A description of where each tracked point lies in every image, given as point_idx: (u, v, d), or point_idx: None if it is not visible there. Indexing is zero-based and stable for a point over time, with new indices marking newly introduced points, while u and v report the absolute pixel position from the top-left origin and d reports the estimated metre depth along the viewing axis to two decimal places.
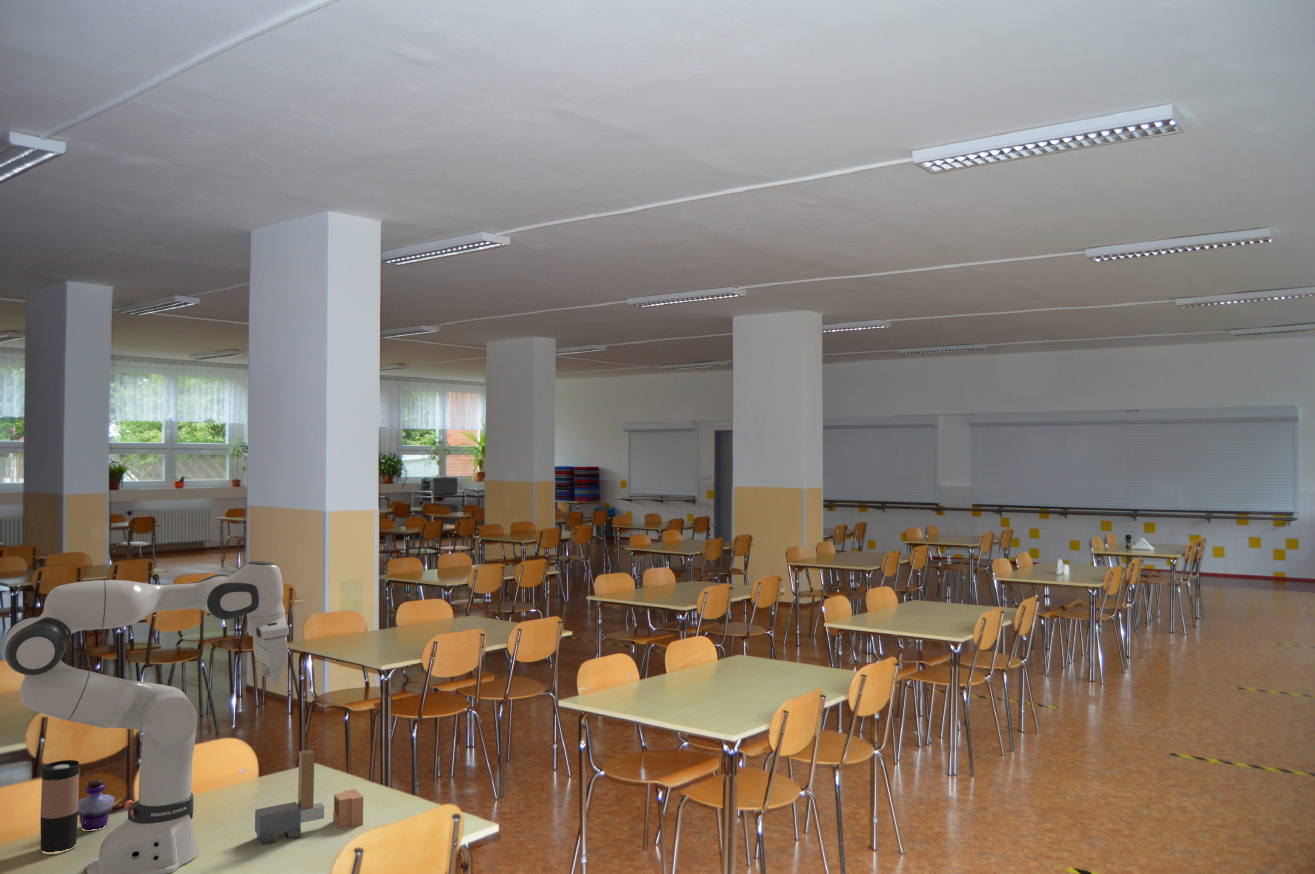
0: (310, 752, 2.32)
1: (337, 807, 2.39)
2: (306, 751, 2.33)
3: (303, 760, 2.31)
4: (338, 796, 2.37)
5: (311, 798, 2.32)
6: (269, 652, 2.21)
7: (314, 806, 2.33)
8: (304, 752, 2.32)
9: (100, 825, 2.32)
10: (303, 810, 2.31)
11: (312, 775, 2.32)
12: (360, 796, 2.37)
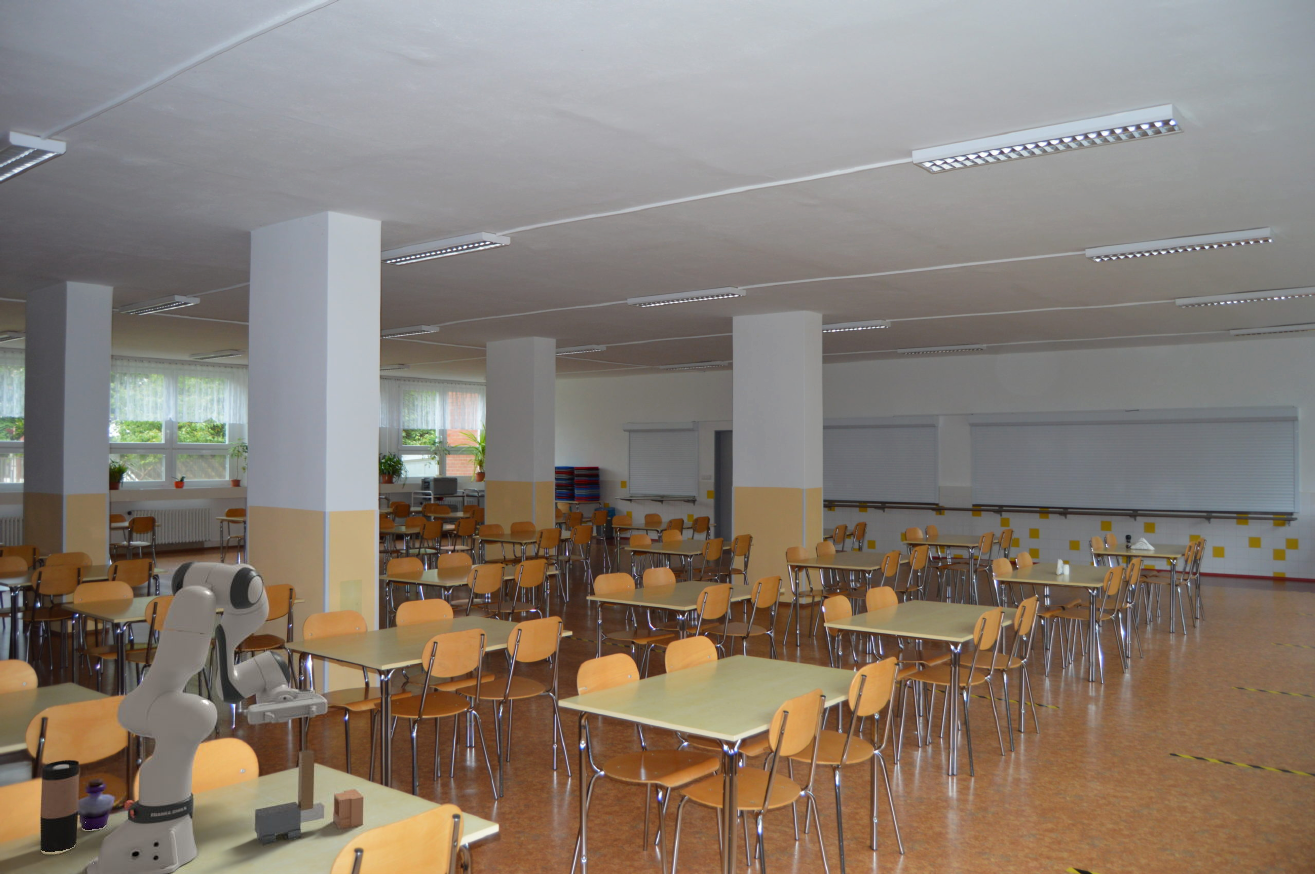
0: (310, 752, 2.32)
1: (337, 807, 2.39)
2: (306, 751, 2.33)
3: (303, 760, 2.31)
4: (338, 796, 2.37)
5: (311, 798, 2.32)
6: None
7: (314, 806, 2.33)
8: (304, 752, 2.32)
9: (100, 825, 2.32)
10: (303, 810, 2.31)
11: (312, 775, 2.32)
12: (360, 796, 2.37)
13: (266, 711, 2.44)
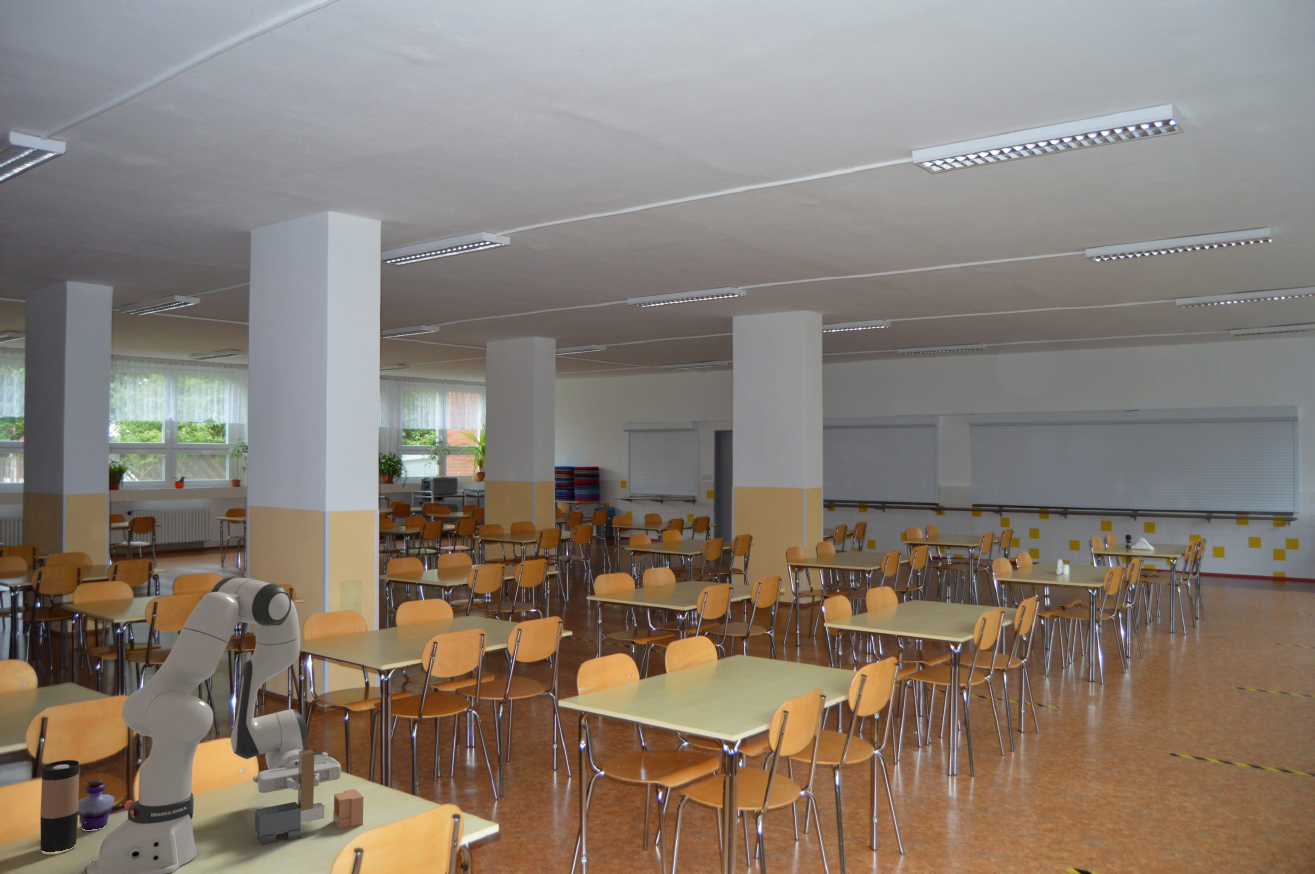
0: (310, 752, 2.32)
1: (337, 807, 2.39)
2: (306, 751, 2.33)
3: (303, 760, 2.31)
4: (338, 796, 2.37)
5: (311, 798, 2.32)
6: None
7: (314, 806, 2.33)
8: (304, 752, 2.32)
9: (100, 825, 2.32)
10: (303, 810, 2.31)
11: (312, 775, 2.32)
12: (360, 796, 2.37)
13: (277, 778, 2.32)
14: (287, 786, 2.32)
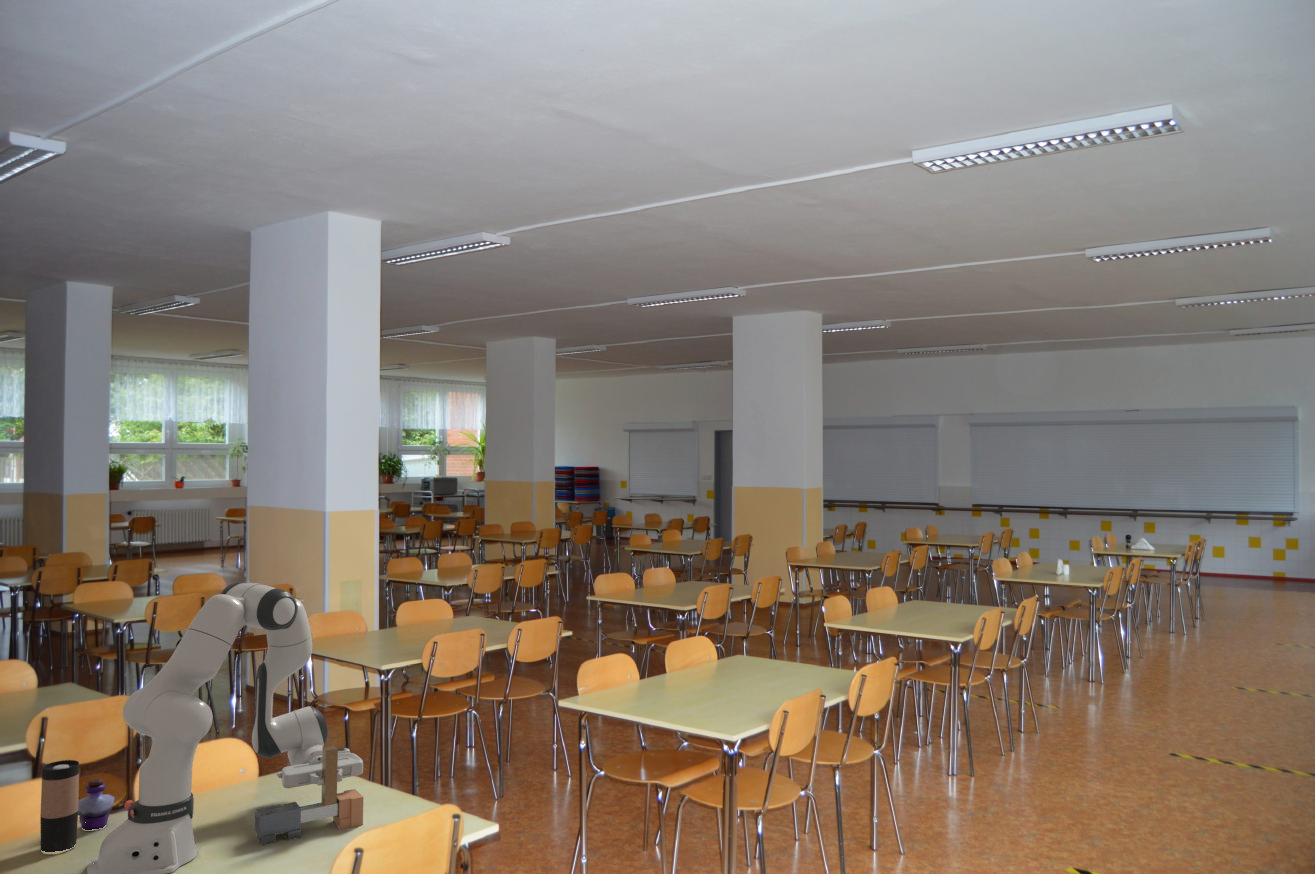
0: (333, 748, 2.36)
1: None
2: (330, 747, 2.37)
3: (327, 756, 2.34)
4: (338, 796, 2.37)
5: (335, 793, 2.35)
6: None
7: (337, 801, 2.37)
8: (328, 748, 2.36)
9: (100, 825, 2.32)
10: (327, 805, 2.34)
11: (335, 770, 2.35)
12: (360, 796, 2.37)
13: (301, 774, 2.35)
14: (311, 782, 2.36)
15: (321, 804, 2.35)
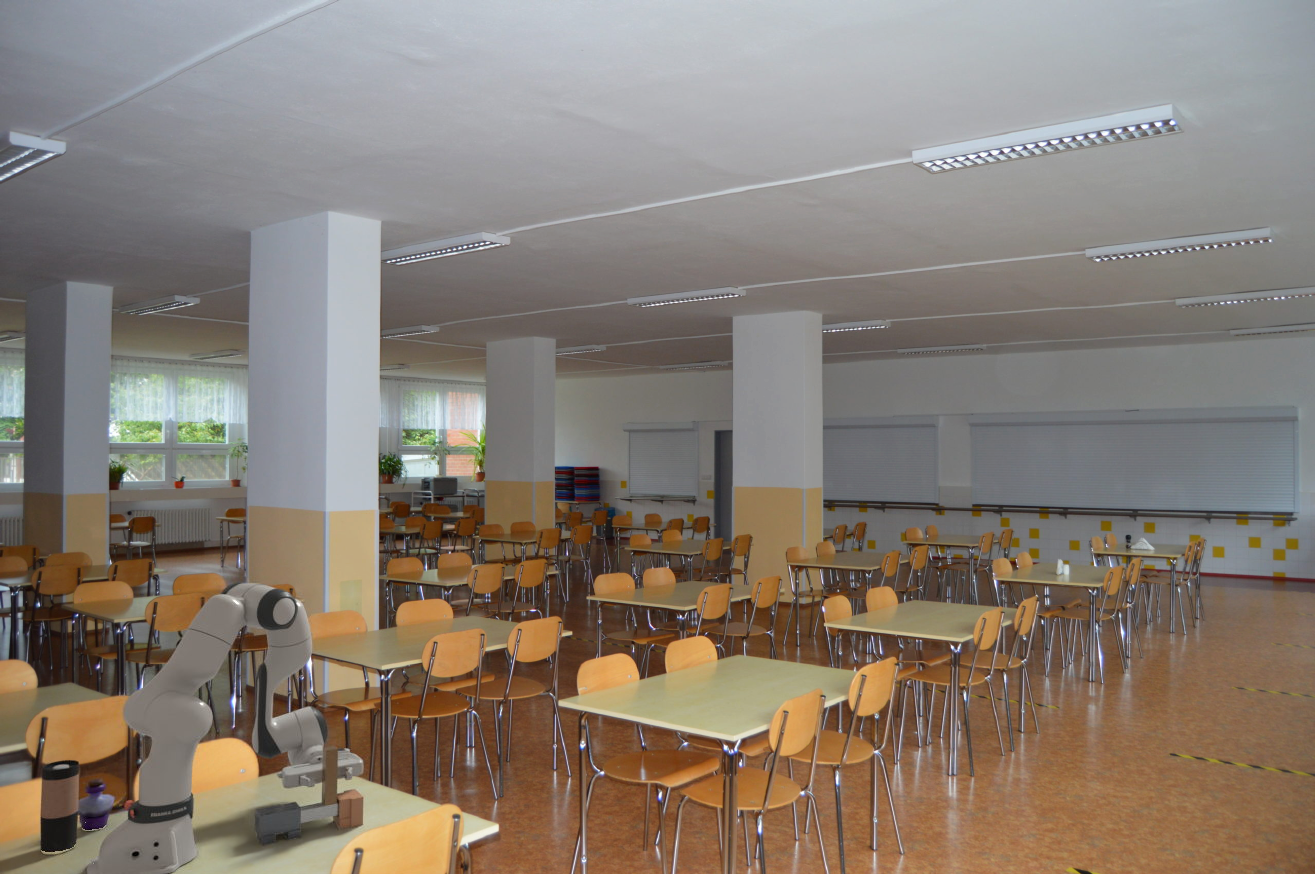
0: (334, 748, 2.36)
1: None
2: (330, 747, 2.37)
3: (327, 756, 2.34)
4: (338, 796, 2.37)
5: (335, 793, 2.35)
6: None
7: (337, 801, 2.37)
8: (328, 748, 2.36)
9: (100, 825, 2.32)
10: (327, 805, 2.34)
11: (336, 770, 2.35)
12: (360, 796, 2.37)
13: (301, 774, 2.35)
14: (301, 783, 2.34)
15: (321, 804, 2.35)
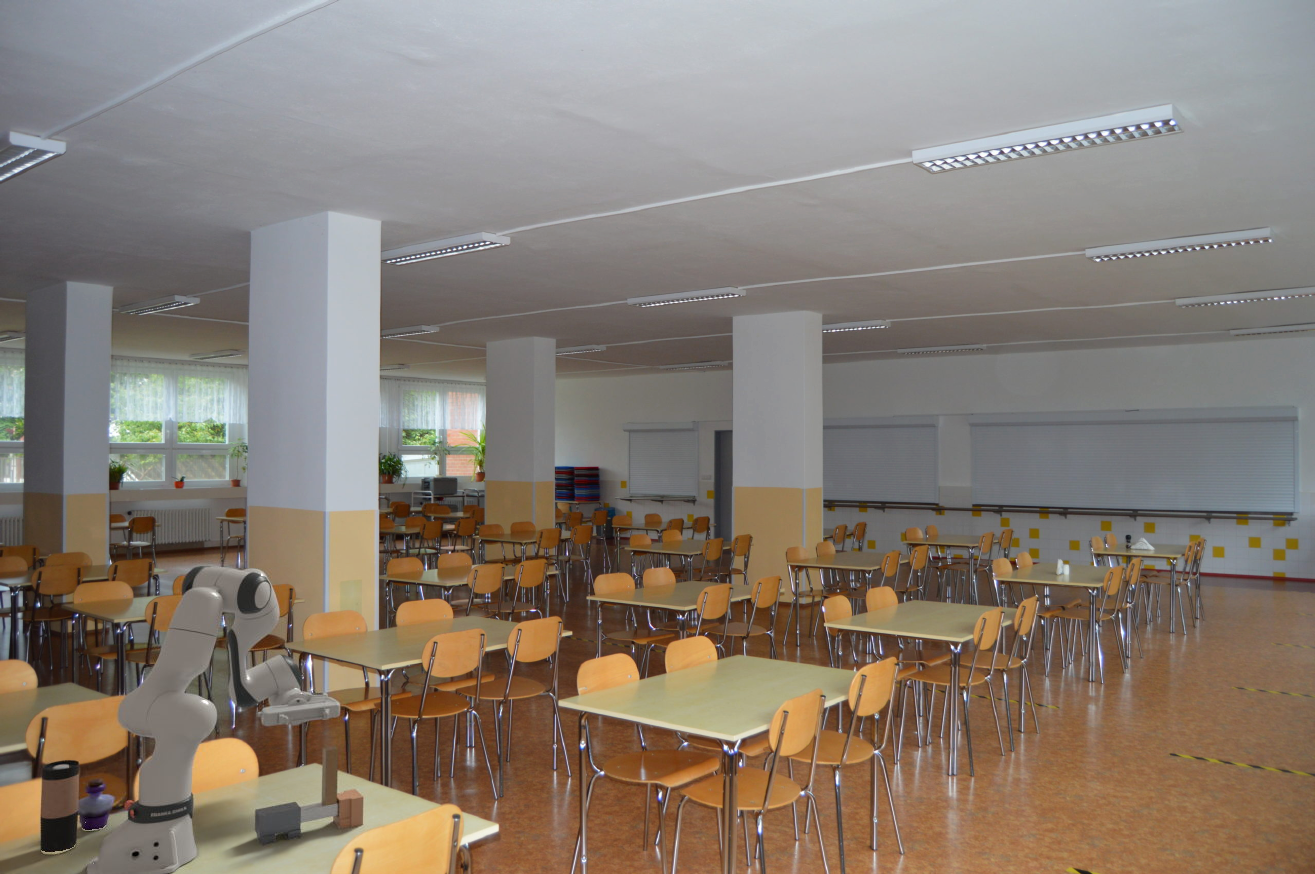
0: (334, 748, 2.36)
1: None
2: (330, 747, 2.37)
3: (327, 756, 2.34)
4: (338, 796, 2.37)
5: (335, 793, 2.35)
6: None
7: (337, 801, 2.37)
8: (328, 748, 2.36)
9: (100, 825, 2.32)
10: (327, 805, 2.34)
11: (336, 770, 2.35)
12: (360, 796, 2.37)
13: (280, 713, 2.46)
14: (279, 722, 2.44)
15: (321, 804, 2.35)
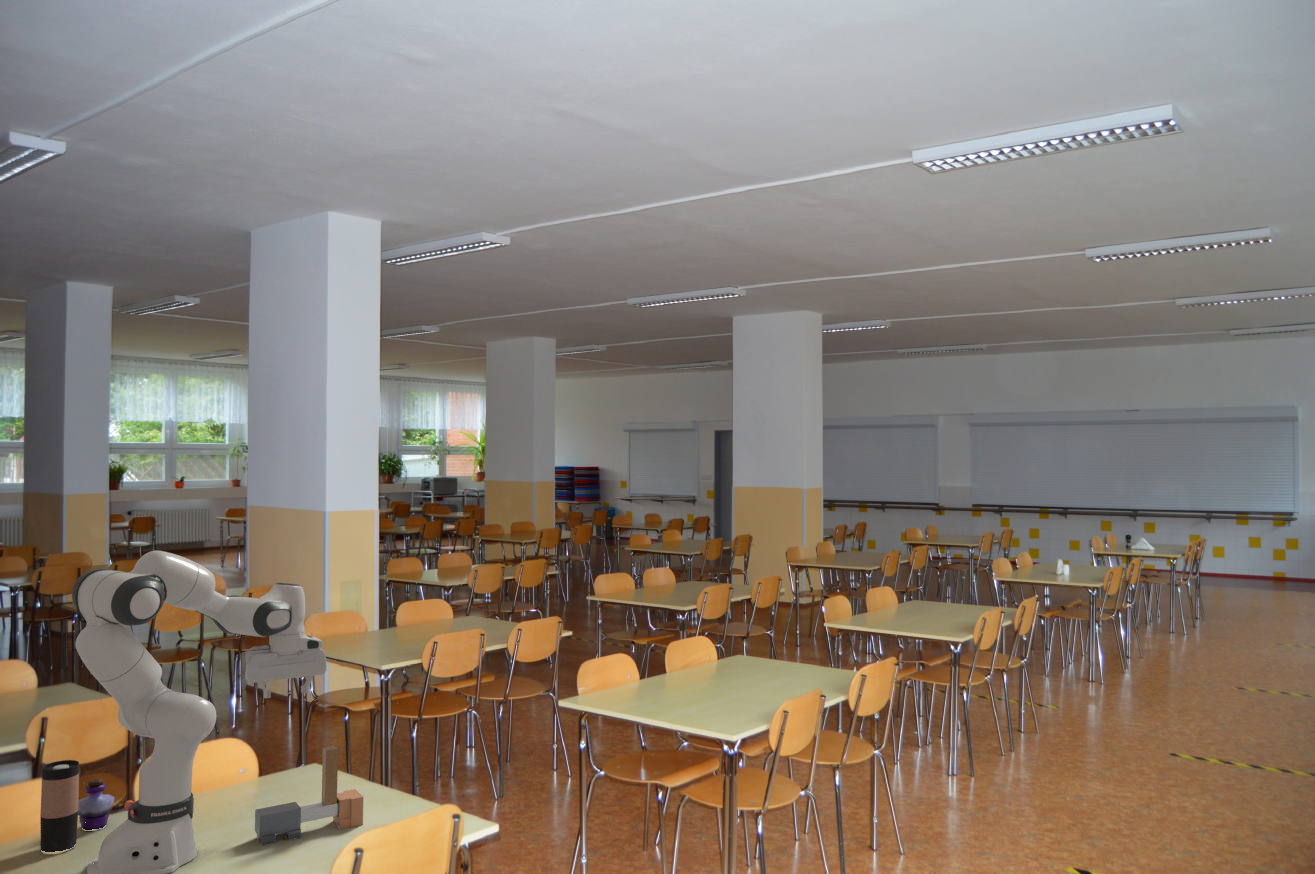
0: (334, 748, 2.36)
1: None
2: (330, 747, 2.37)
3: (327, 756, 2.34)
4: (338, 796, 2.37)
5: (335, 793, 2.35)
6: (325, 658, 2.49)
7: (337, 801, 2.37)
8: (328, 748, 2.36)
9: (100, 825, 2.32)
10: (327, 805, 2.34)
11: (336, 770, 2.35)
12: (360, 796, 2.37)
13: (263, 681, 2.41)
14: (260, 685, 2.42)
15: (321, 804, 2.35)
